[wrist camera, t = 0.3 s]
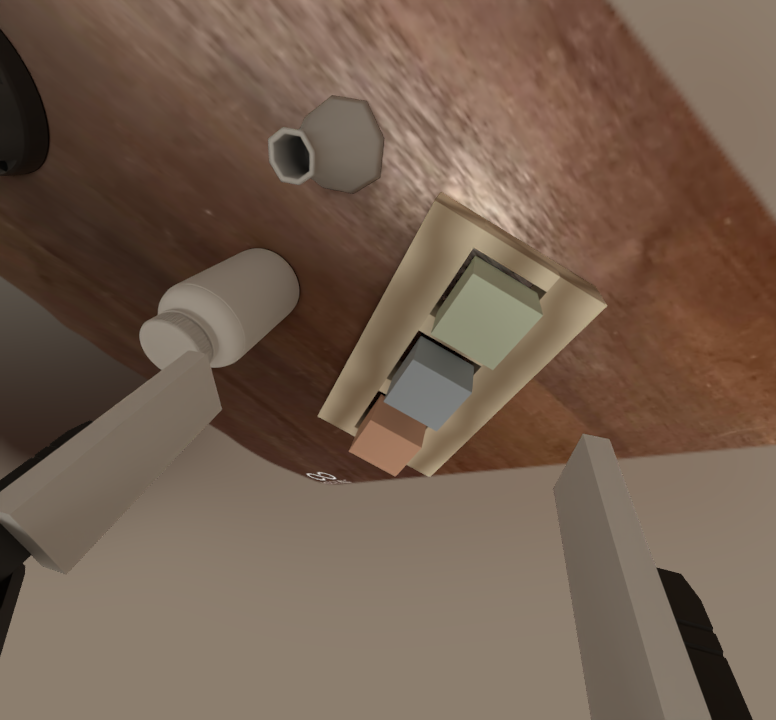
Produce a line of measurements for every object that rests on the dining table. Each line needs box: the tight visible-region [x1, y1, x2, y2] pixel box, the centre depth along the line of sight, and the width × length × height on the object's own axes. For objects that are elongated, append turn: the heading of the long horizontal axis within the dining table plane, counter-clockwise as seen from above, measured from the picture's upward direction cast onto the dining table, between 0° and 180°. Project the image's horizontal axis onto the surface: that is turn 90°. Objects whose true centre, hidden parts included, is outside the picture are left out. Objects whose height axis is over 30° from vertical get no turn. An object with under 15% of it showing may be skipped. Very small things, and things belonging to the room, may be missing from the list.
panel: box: [318, 192, 607, 477], centre depth 37 cm, size 16×28×4 cm, turn 154°
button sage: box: [431, 256, 543, 370], centre depth 29 cm, size 6×6×4 cm
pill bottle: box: [139, 248, 299, 370], centre depth 33 cm, size 8×8×15 cm
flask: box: [268, 95, 384, 194], centre depth 26 cm, size 7×7×10 cm
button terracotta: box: [349, 394, 426, 476], centre depth 40 cm, size 6×6×4 cm
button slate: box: [383, 336, 474, 431], centre depth 34 cm, size 6×6×4 cm
